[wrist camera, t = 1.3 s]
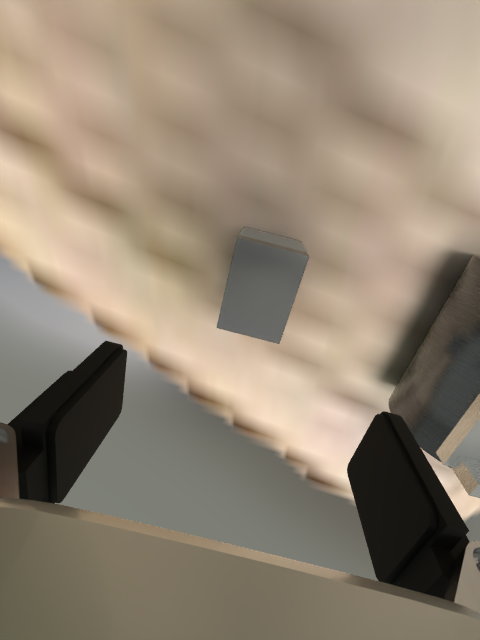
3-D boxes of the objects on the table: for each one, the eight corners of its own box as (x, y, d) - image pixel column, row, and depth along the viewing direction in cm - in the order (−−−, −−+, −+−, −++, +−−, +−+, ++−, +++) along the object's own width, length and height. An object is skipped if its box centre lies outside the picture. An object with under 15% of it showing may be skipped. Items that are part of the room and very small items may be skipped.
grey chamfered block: (244, 226, 25) (237, 237, 20) (301, 241, 25) (309, 256, 20) (227, 300, 28) (216, 327, 23) (277, 313, 28) (279, 343, 23)
